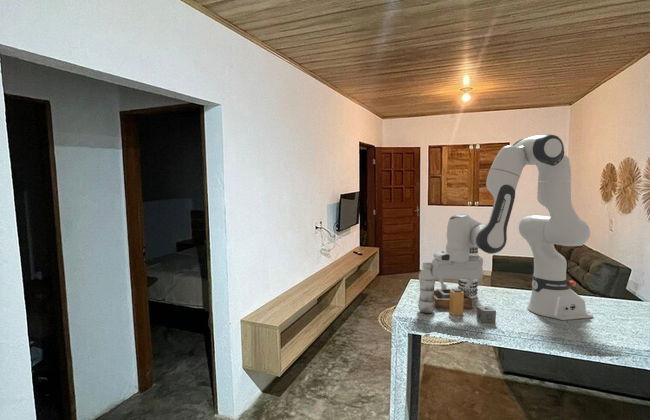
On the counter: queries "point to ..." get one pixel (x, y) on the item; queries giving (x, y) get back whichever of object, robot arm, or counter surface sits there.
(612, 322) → the counter surface
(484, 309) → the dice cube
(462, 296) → the block
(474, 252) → the decorative candle
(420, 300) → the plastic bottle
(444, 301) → the walled box
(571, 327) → the counter surface
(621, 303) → the counter surface
